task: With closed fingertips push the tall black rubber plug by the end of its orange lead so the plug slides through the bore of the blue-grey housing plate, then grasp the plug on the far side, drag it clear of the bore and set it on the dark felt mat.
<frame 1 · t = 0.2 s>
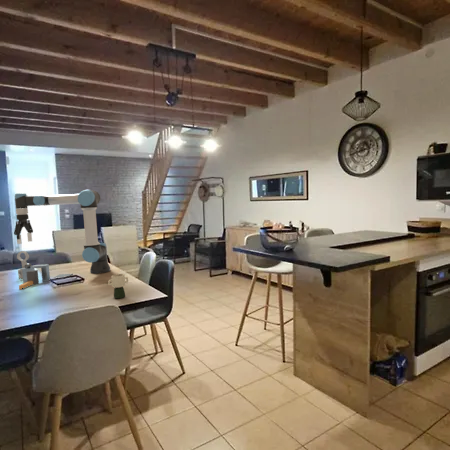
hand: (24, 242, 241), 28 cm above the table, tool pointing down, fingers open, 13 cm apart
engine component: (25, 277, 252), on the table
plug: (33, 283, 228), on the table
felt mat: (61, 276, 246), on the table
housing: (35, 281, 236), on the table
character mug: (119, 298, 183), on the table
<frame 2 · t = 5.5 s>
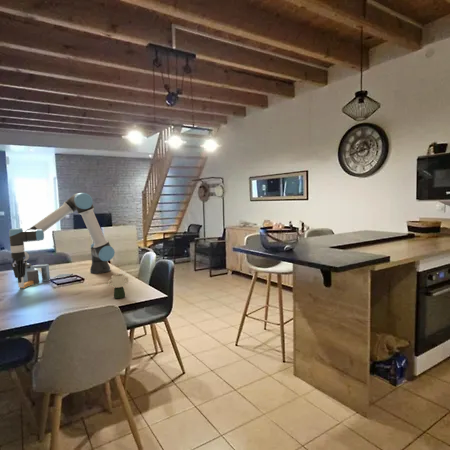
hand: (21, 287, 214), 1 cm above the table, tool pointing down, fingers closed
plug: (33, 283, 229), on the table, touching gripper
everything else where it was.
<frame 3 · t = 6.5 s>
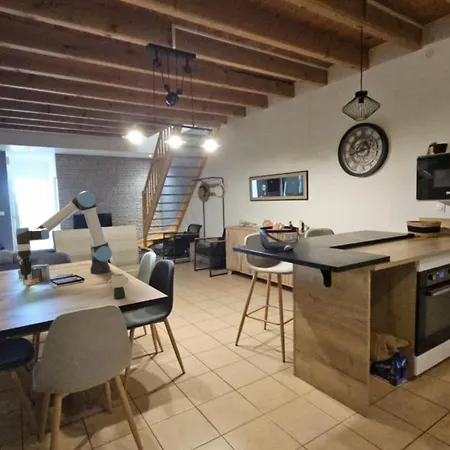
hand: (27, 284, 221), 1 cm above the table, tool pointing down, fingers closed
plug: (39, 280, 236), on the table, touching gripper
everything else where it was.
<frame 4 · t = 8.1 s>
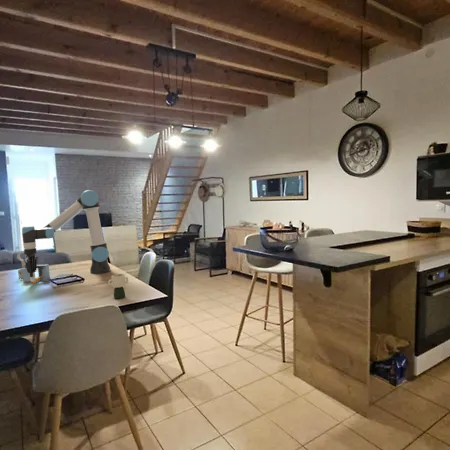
hand: (33, 281, 228), 2 cm above the table, tool pointing down, fingers closed
plug: (44, 278, 243), on the table, touching gripper
everything else where it was.
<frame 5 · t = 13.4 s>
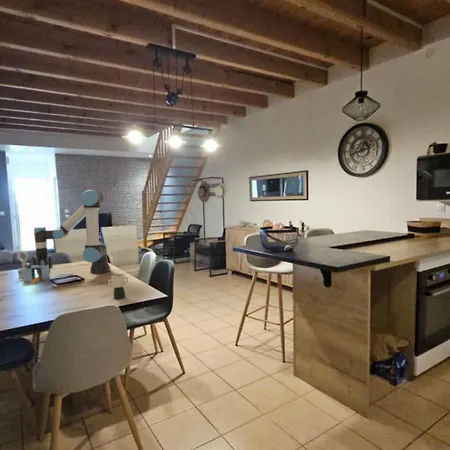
hand: (44, 278, 243), 0 cm above the table, tool pointing down, fingers closed on plug, 5 cm apart
plug: (44, 278, 243), on the table, touching gripper
everything else where it was.
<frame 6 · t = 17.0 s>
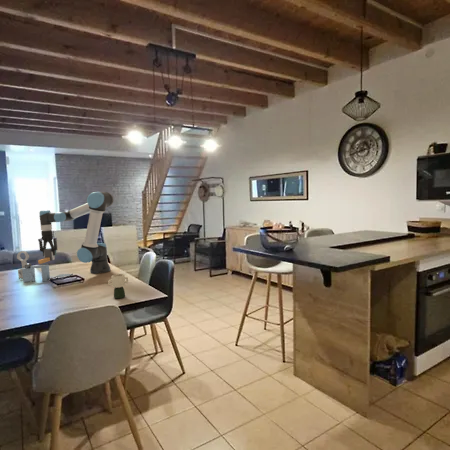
hand: (49, 259, 252), 12 cm above the table, tool pointing down, fingers closed on plug, 5 cm apart
plug: (49, 260, 252), point 12 cm above the table, touching gripper
everything else where it was.
when the fingers open (2 cm above the table, at t = 20.4 s): plug drops 1 cm, resting on felt mat.
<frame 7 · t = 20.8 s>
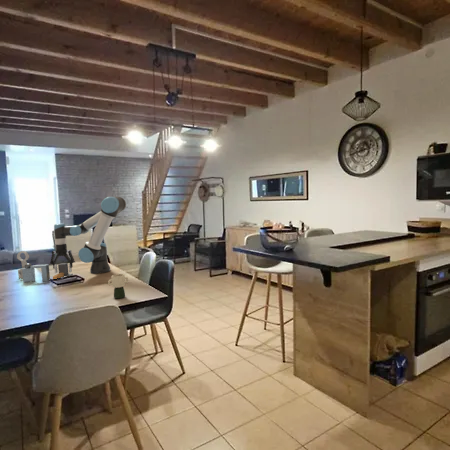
hand: (63, 272, 249), 3 cm above the table, tool pointing down, fingers open, 10 cm apart
plug: (63, 275, 249), resting on felt mat
everything else where it was.
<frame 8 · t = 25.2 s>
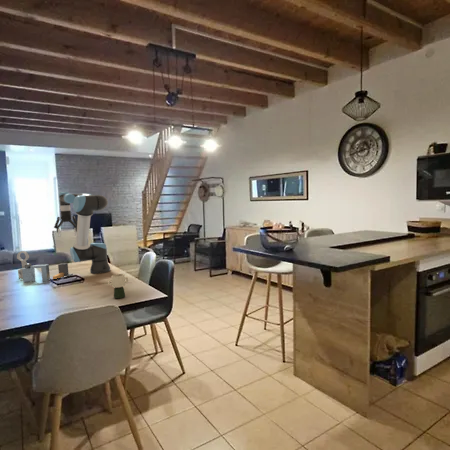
hand: (67, 236, 271), 29 cm above the table, tool pointing down, fingers open, 13 cm apart
nothing on the table moved.
at the end: plug inside the target area (3.2 cm from its centre), on the table; plug touching felt mat; the gripper is holding nothing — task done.
